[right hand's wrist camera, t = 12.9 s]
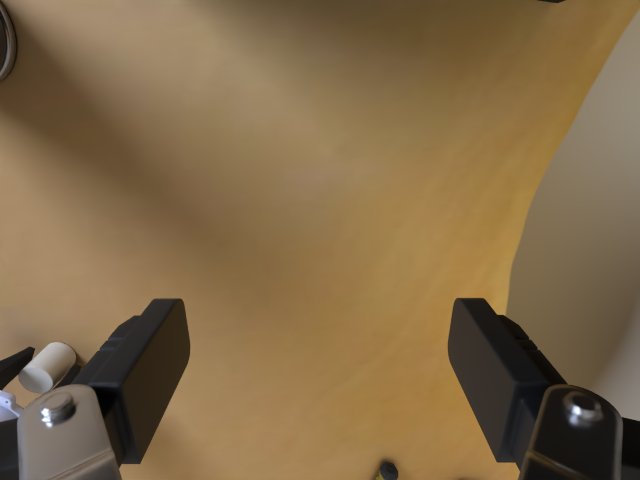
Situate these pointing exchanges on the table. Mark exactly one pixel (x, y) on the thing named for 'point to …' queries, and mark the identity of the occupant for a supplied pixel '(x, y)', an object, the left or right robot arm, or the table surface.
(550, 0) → the cardboard box
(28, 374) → the can
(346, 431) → the table surface
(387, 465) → the toy gun
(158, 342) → the right robot arm
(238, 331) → the table surface
